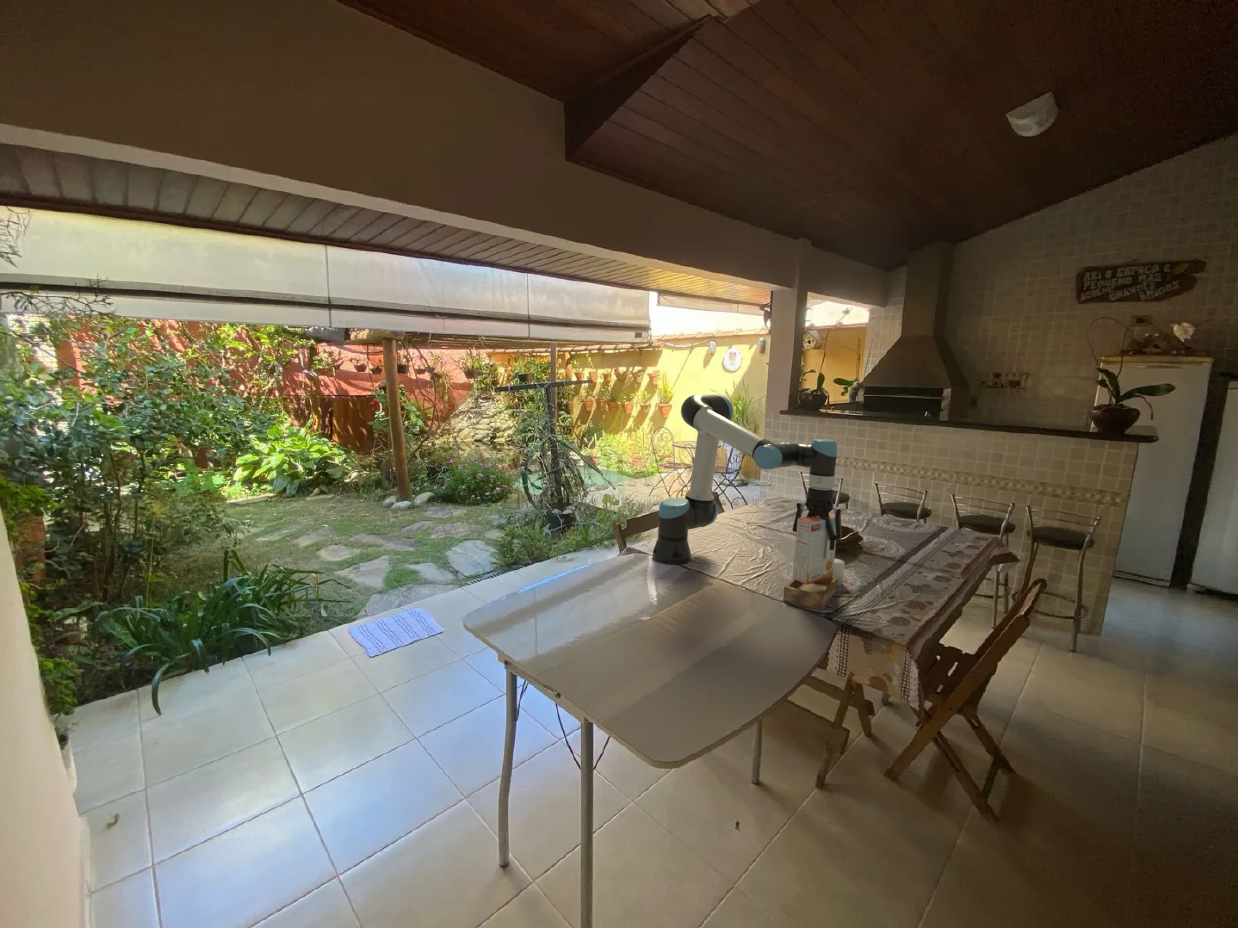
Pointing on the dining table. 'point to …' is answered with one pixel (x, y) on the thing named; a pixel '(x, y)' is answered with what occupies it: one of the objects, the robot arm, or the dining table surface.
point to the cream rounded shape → (838, 570)
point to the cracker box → (813, 550)
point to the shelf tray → (811, 592)
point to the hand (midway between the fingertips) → (814, 555)
